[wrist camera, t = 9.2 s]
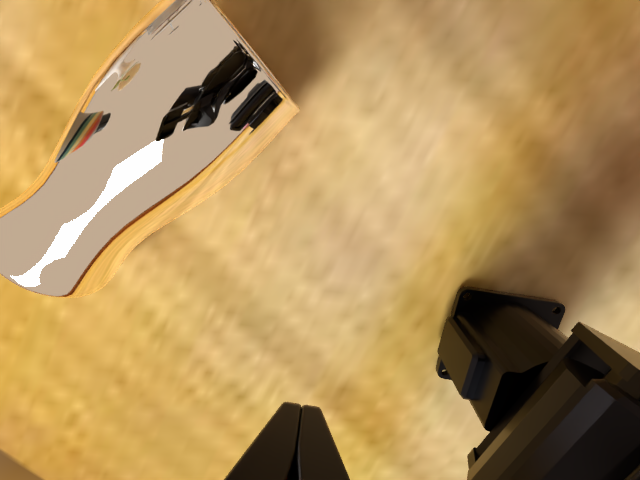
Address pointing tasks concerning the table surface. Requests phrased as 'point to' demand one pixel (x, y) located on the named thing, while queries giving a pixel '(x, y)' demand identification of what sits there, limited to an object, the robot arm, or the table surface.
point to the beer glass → (143, 148)
